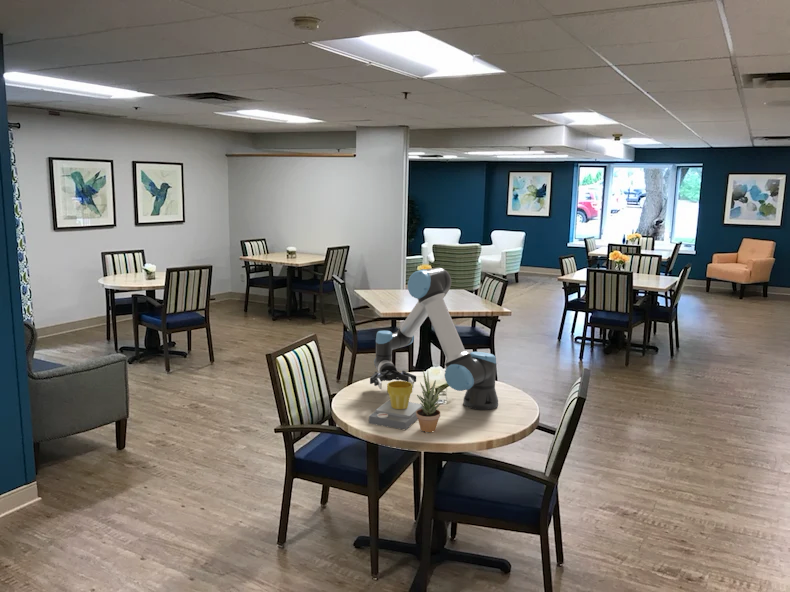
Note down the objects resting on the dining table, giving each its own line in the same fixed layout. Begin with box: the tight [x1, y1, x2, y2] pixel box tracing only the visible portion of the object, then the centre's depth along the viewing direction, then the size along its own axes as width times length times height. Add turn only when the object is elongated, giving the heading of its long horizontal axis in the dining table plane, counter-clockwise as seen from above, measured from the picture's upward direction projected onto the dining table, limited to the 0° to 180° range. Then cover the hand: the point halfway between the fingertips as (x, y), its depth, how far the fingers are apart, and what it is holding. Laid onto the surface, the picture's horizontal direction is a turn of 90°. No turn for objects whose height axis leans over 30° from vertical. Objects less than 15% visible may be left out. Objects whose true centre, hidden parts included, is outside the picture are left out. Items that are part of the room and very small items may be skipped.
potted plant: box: [416, 370, 442, 433], centre depth 246 cm, size 10×10×25 cm
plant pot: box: [386, 380, 413, 410], centre depth 261 cm, size 10×10×10 cm
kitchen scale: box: [368, 399, 424, 431], centre depth 260 cm, size 16×20×4 cm
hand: (396, 385), depth 265 cm, fingers open, 13 cm apart
